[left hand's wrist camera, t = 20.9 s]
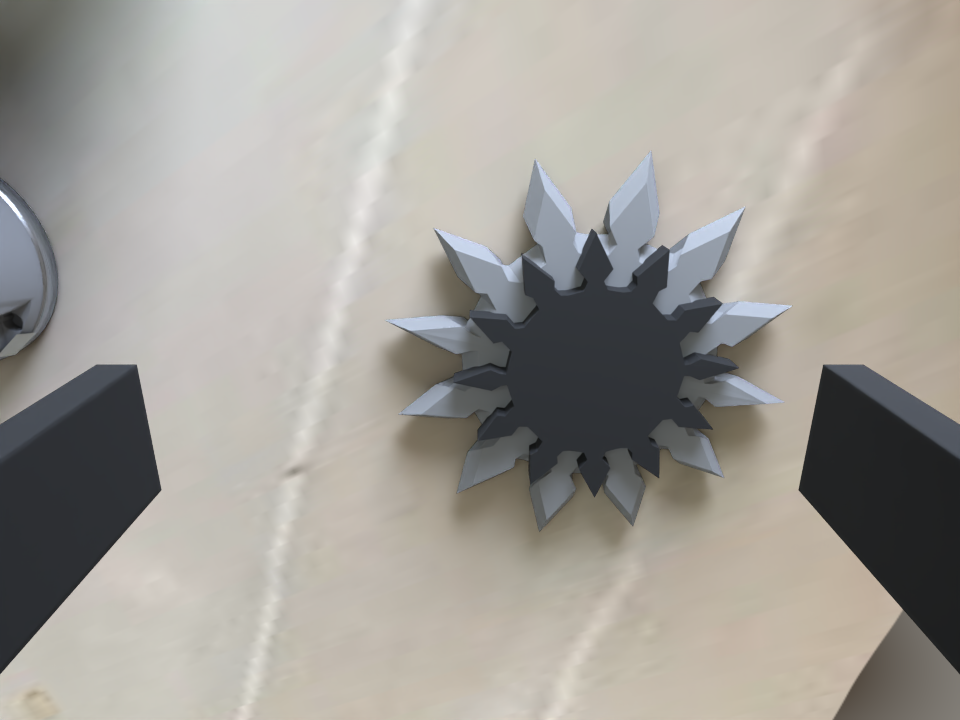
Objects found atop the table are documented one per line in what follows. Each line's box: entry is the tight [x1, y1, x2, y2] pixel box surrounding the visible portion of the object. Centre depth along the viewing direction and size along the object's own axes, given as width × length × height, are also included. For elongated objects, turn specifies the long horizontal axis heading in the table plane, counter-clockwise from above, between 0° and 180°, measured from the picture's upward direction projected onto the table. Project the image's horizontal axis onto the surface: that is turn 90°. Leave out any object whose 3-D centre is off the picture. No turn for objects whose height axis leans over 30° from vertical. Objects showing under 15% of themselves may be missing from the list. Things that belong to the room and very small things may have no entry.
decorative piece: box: [385, 151, 792, 532], centre depth 46 cm, size 30×4×30 cm
